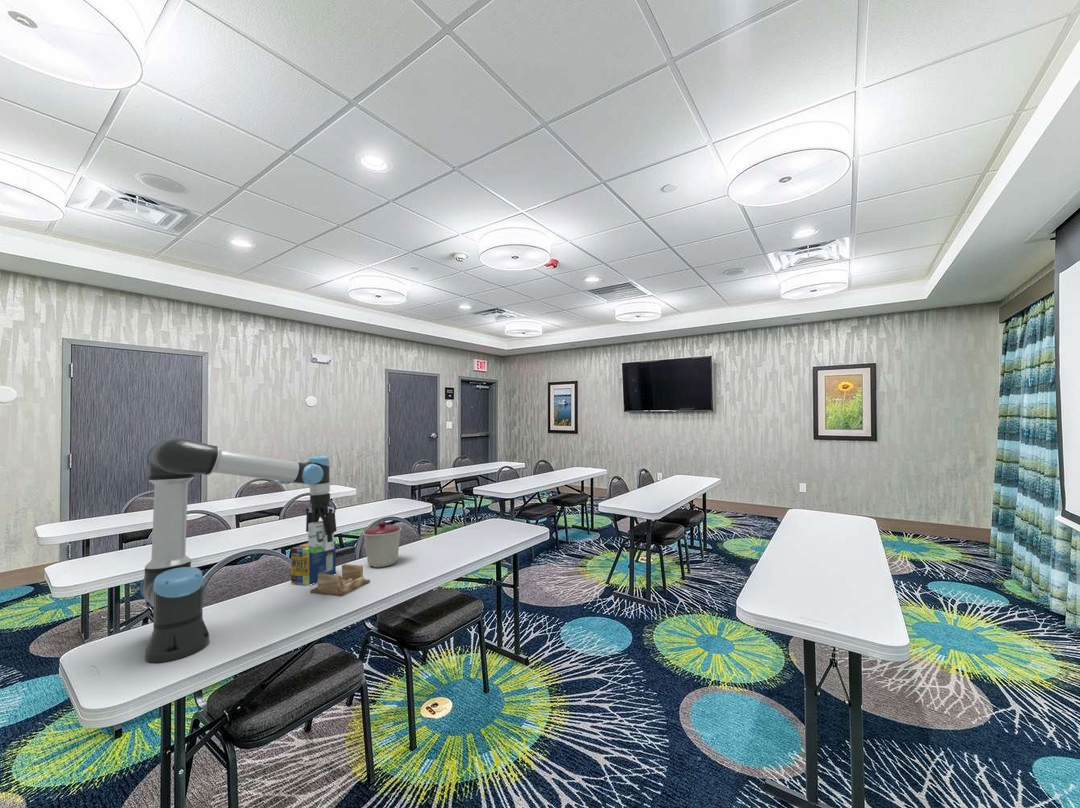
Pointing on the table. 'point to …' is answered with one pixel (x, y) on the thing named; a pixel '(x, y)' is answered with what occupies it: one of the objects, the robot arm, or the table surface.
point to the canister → (382, 544)
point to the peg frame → (341, 581)
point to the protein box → (311, 564)
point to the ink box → (317, 537)
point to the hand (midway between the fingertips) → (321, 549)
